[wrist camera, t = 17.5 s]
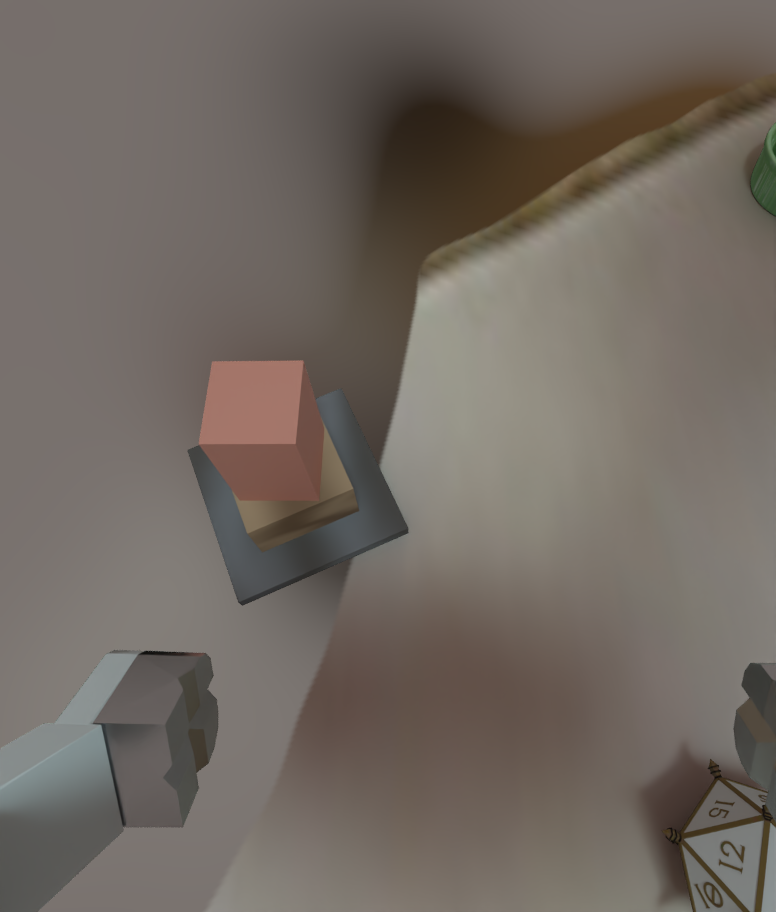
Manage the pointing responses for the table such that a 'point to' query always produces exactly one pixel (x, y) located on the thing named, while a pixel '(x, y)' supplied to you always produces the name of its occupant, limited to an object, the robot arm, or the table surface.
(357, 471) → the tower base
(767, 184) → the ramekin
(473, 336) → the table surface
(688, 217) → the table surface
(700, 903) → the game die
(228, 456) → the red block
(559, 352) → the table surface
